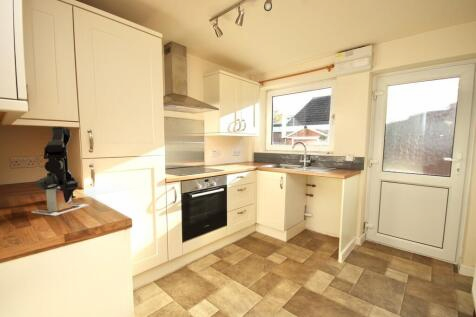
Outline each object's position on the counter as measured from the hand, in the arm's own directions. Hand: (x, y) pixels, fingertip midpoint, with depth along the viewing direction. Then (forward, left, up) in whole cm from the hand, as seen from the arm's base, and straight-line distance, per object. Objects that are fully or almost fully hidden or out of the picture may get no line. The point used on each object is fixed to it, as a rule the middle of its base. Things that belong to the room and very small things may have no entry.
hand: (59, 201), depth 107 cm
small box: (0, 0, -4) cm, 4 cm away
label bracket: (0, 0, -4) cm, 4 cm away
